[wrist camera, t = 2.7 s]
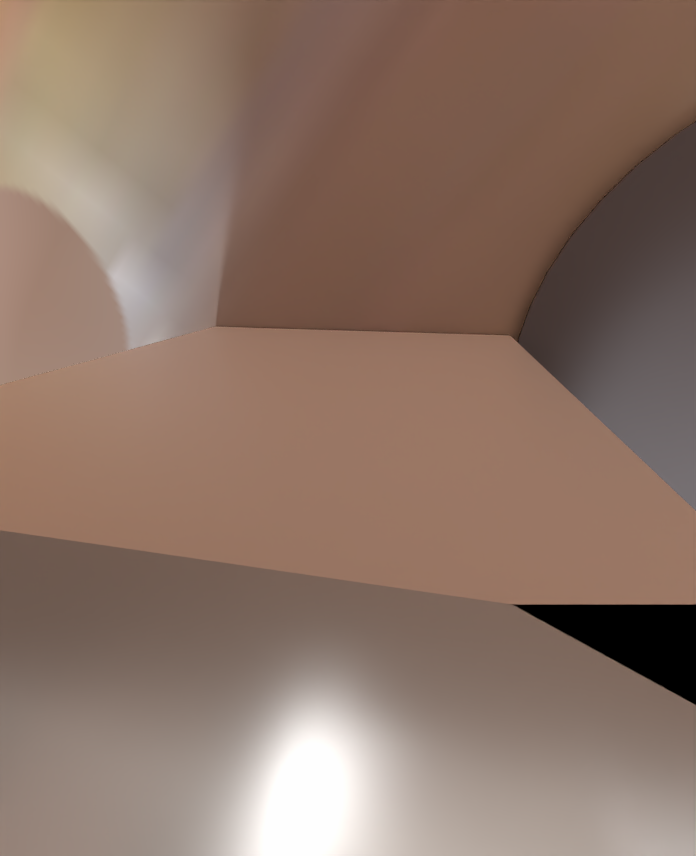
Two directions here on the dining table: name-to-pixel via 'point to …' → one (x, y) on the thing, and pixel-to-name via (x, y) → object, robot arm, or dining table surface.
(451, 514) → the white block
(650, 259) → the disc
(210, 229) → the dining table surface
